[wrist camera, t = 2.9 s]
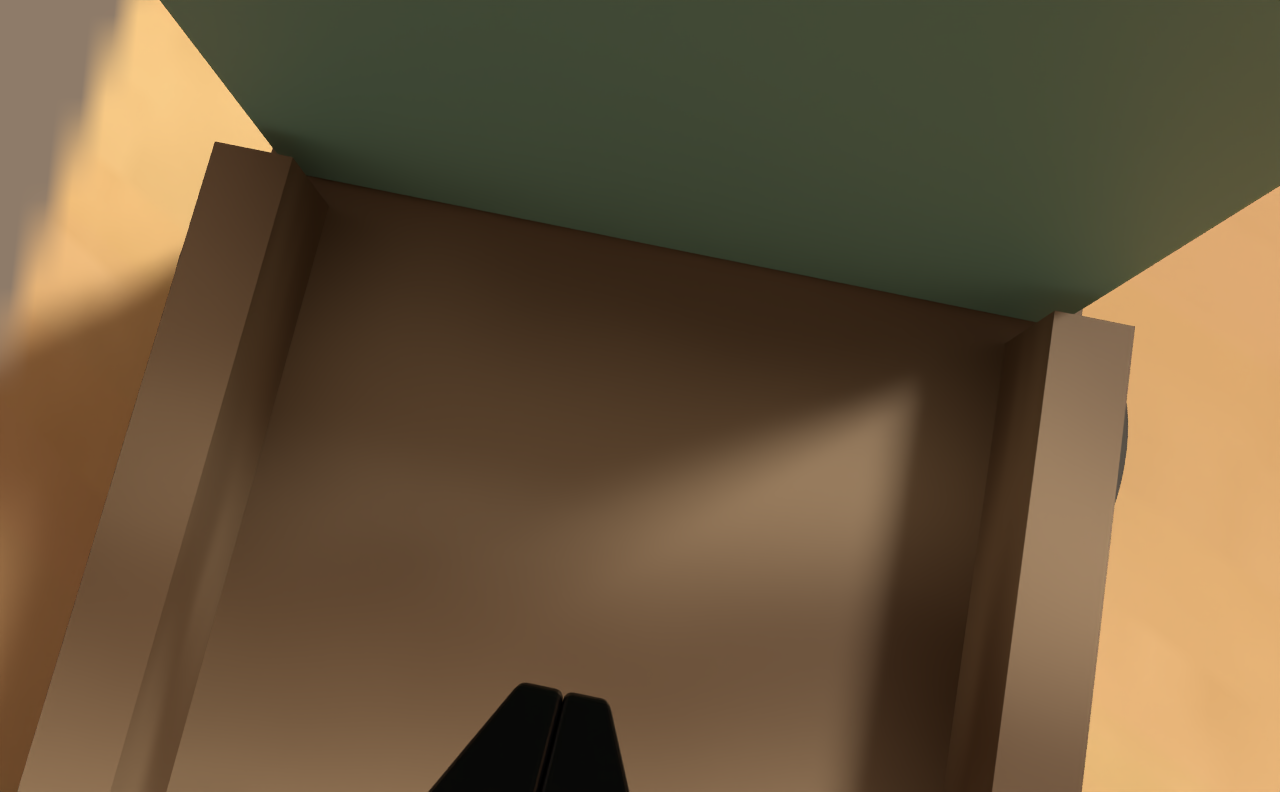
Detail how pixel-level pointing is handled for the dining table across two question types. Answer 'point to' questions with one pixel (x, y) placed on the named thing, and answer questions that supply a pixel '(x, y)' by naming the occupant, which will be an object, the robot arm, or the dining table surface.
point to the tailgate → (791, 125)
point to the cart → (581, 514)
